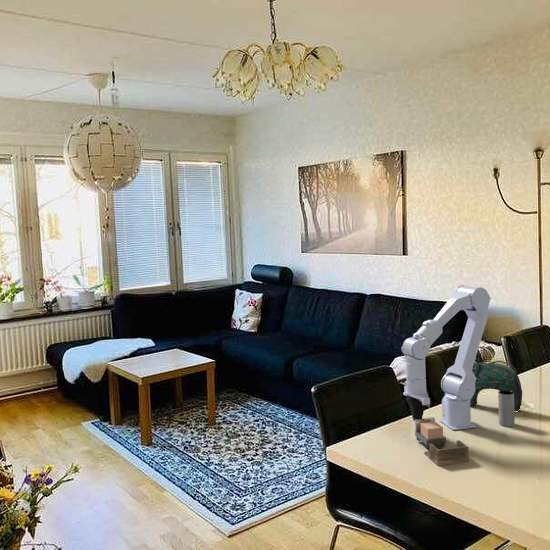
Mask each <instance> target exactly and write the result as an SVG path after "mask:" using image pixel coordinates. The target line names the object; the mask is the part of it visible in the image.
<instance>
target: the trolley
mask: <svg viewBox="0 0 550 550" xmlns="http://www.w3.org/2000/svg"><path fill="white" fill-rule="evenodd" d="M414 436H415V438H416V441H419V442H422V443H423V444H424V447H425V448H426V449H429V444H433V445H434V446H435V445H439V446H440V447H442V448H443V447H445V446H446V444H447V437H446V436H445V435H444V427H443V426H442V425H440V424H439V423H438V422H437V421H436V418H435V417H425V418H424V417H423V418H422V419H415V422H414Z"/></svg>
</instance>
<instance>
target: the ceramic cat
mask: <svg viewBox="0 0 550 550" xmlns="http://www.w3.org/2000/svg"><path fill="white" fill-rule="evenodd" d="M481 352H485V353H487V354H488V355H490V352H489V351H488V350H486V349H481V350H478V352H477V355H478V358H477V357H476V358H475V361H474V365H473V368H472V372H473V373H474V375H475V377H476V381H475V393H474V395H473V396H472V399H470V406H472V407H471V408H474V407H473V406H475V407H476V406H477V405H478V397H479V396H478V395H479V394H480V392H481V391H483V390H497V391H498V392H499V391H501V390H509V391H512V392H514V411H518V410H519V409H520V406H521V407H522V403H523V402H522V401H523V389H522V383H521V380H520V377H519V375H518V372H517V369H516V368H515V366H513V364H512V363H509V362H508V361H507V362H506V361H503V360H495V361H491V362H484V361H482V360H481V358H480V353H481ZM502 363H503V364H502ZM476 404H477V405H476Z"/></svg>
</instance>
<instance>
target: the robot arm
mask: <svg viewBox="0 0 550 550" xmlns="http://www.w3.org/2000/svg"><path fill="white" fill-rule="evenodd" d="M491 299H492V298H491V296H490V294H489V293H488V290H487V289H485V287H477V286H470V285H469V286H467V285H463V284H460V285H458V286H456V288H455V290H452V292H450V298H449V299H448V300H447V302H446V303H445V304H444V306H443V307H442V308H441V309H440V311H439V312H438V313H437V314H436V316H435V317H434V318H433V319H428V320H425V321H424V322H422V325H421V326H420V328H419V329H418V330H417V331H416V332H415V333H413V334H412V337H408V338H406V339H405V340H404V341H403V344H402V346H401V348H400V349H401V352H402V354H403V355H404V360H405V372H406V373H405V374H406V375H405V376H406V385H404V386H403V387H404V388H403V389H404V390H403V391H404V392H403V393H402V394H403V396H405V397H406V398H405V401H406V403H407V404H408V407H409V410H410V412H411V416H412V417H411V418H412V420H413V422H414V423H415V419H423V418H424V417H423V415H424V412H425V409H426V406H429V405H431V398H430V397H429V395H428V392H427V379H426V377H427V376H426V375H427V374H426V373H427V372H426V357H428V355H429V354H430V349H431V346H432V345H433V344H434V342H436V340H437V339H438V338H439V337H440V336H441V335H442V334H443V327H444V326H445V325H446V324H447V323H448V322H449V321H450V320H451V319H452V318H453V317H455V315H456V314H458V312H459V311H464V312H465V314H466V316H467V321H466V324H465V327H464V330H463V331H464V332H463V335H462V338H461V341H460V344H459V348H458V350H457V354H456V358H455V361H454V364H453V365H451V366H449V368H447V370H446V372H445V374H444V376H443V377H442V378H441V381H440V387H441V390H442V391H443V392H444V396H443V397H442V399H441V415H442V416H441V417H442V418H440V419H439V421H440V422H441V423H443V424H444V425H445V426H447V428H449V429H450V430H452V431H457V430H465V429H473V428H477V425H476V424H475V423H473V422H472V418H471V417H472V416H471V415H472V414H471V410H472V409H471V407H470V399H472V396H473V395H474V393H475V381H476V377H475V375H474V373H473V372H472V368H473V365H474V361H475V358H477V355H478V352H479V347H480V345H481V344H480V343H481V341H482V337H483V334H484V332H485V328H486V325H487V323H488V316H489V305H490V302H491Z"/></svg>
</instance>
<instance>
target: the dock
mask: <svg viewBox="0 0 550 550" xmlns="http://www.w3.org/2000/svg"><path fill="white" fill-rule="evenodd" d="M428 449H429V450H428V451H423V454H424V455H425V457H427V458H428V459H429V460H430V461H432V463H434V464H435V465H436V466H438V467H439V466H445V465H446V466H447V465H452V464H462V463H468V462H469V461H470V458H469V446H468V445H466V444H465V443H463V442H462V441H461V440H459V439H458V440H457V439H456V446H455V447H446V448H441V449H439V448H438V447H437V446H435V445H433V444H429V448H428Z"/></svg>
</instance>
